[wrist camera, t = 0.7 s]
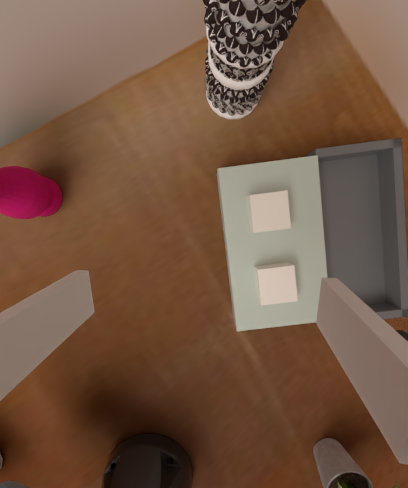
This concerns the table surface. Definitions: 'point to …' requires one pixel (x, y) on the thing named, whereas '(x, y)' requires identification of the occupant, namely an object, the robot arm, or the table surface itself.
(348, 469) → the house plant
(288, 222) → the tile
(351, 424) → the table surface
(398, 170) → the tray
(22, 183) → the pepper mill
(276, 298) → the tile
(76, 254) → the table surface
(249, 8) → the black and white jar
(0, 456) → the disposable coffee cup
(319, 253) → the board
